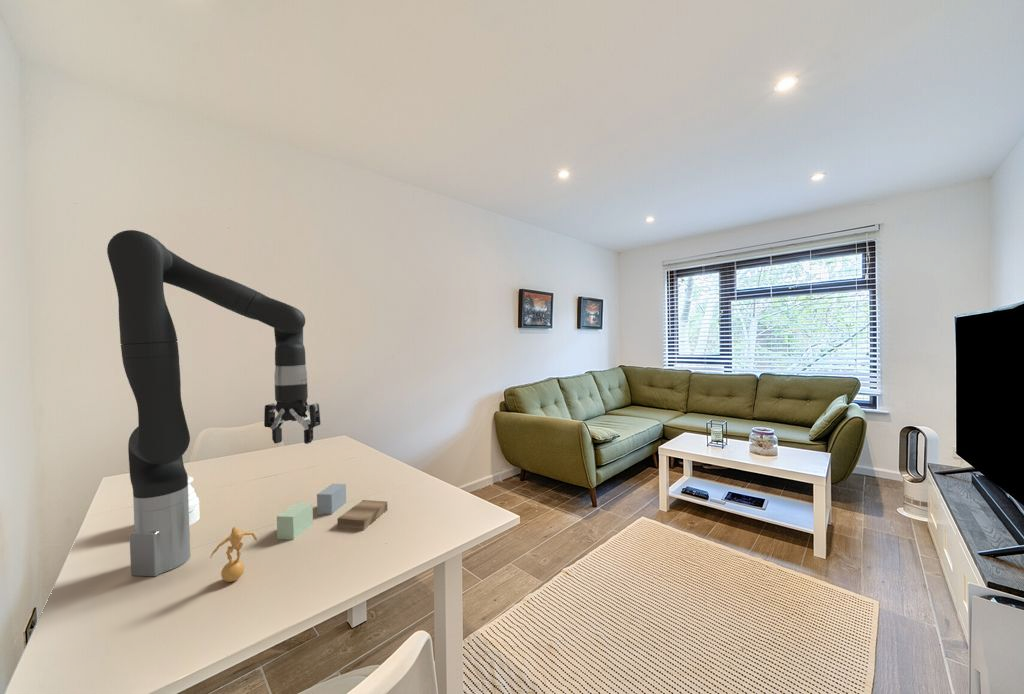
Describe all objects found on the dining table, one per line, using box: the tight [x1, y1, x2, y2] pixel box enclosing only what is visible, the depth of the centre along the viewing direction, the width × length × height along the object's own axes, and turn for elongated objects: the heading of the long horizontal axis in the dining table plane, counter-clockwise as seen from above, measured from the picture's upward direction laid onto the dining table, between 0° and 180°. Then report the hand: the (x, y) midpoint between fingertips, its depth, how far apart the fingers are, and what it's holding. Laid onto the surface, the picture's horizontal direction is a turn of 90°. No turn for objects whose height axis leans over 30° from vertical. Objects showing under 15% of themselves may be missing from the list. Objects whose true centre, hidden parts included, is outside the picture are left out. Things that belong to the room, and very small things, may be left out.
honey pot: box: [187, 475, 201, 527], centre depth 106 cm, size 13×13×18 cm
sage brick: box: [276, 502, 314, 541], centre depth 101 cm, size 8×4×6 cm, turn 175°
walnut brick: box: [337, 499, 388, 531], centre depth 108 cm, size 12×8×3 cm, turn 169°
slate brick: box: [316, 483, 347, 515], centre depth 115 cm, size 8×4×6 cm, turn 175°
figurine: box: [209, 526, 258, 583], centre depth 80 cm, size 8×6×12 cm
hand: (293, 442), depth 100 cm, fingers open, 8 cm apart
